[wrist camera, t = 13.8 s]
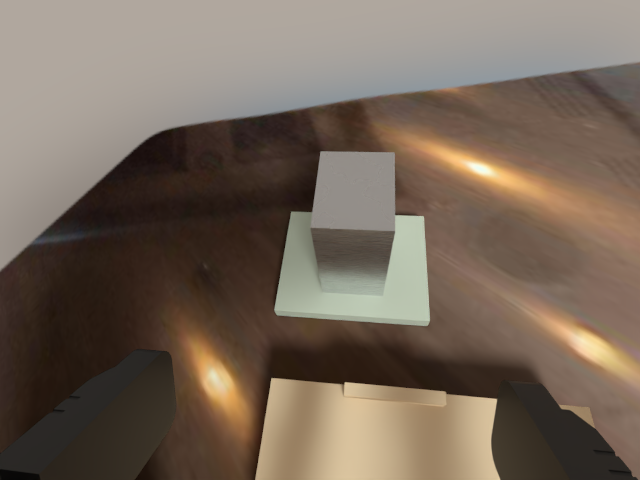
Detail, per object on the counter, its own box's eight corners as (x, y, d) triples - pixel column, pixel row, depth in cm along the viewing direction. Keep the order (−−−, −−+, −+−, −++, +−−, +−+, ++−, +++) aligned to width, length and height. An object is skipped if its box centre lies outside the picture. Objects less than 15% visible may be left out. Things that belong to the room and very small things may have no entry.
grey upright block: (322, 292, 24) (310, 227, 17) (329, 222, 27) (321, 143, 20) (382, 296, 23) (395, 231, 16) (383, 225, 26) (394, 144, 19)
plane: (260, 530, 18) (228, 557, 14) (281, 386, 22) (261, 369, 17) (595, 580, 16) (690, 630, 12) (559, 413, 20) (620, 401, 15)
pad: (277, 315, 24) (274, 310, 23) (293, 218, 28) (291, 211, 27) (427, 326, 23) (429, 321, 22) (421, 223, 27) (423, 216, 26)
